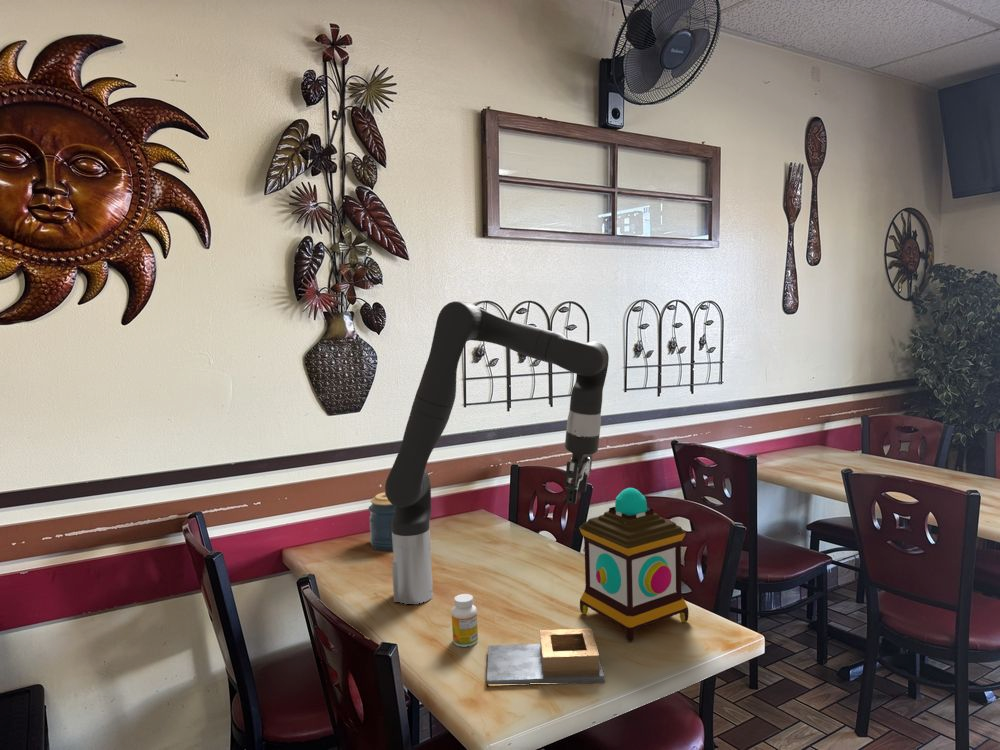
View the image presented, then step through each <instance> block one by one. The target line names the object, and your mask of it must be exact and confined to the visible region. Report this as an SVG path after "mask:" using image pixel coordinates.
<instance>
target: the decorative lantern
mask: <svg viewBox="0 0 1000 750" xmlns="http://www.w3.org/2000/svg"><path fill="white" fill-rule="evenodd" d="M647 502H648V501H647V499H646V497H645V496H644V494H642V493H641V492H640V491H639V489H636V488H634V487H627V488H625V489H623V490H621V492H619V494H618V495H617V496H616V497H615V502H614V503H615V505H614V506H612V507H608V508H609V509H608V511H604V513H603V514H601V515H599V516H596V517H591V518H588V520H587V521H585V522H583V523H582V524H581V525H579V528H578V529H579V530H580V531H579V532H580V534H581V535H582V537H583V541H584V545H583V547H584V570H585V571H584V575H585V578H584V579H585V588H584V591H583V593H582V595H581V596H580V599H579V610H580V613H581V614H582V615H587V613H588V612H589V608H590V609H591V611H592V610H593V611H594V612H596V613H597V614H599V615H601V616H603V617H604V618H606V619H607V620H609V621H611V622H613V623H614V624H616V625H618V626H620V627H621V628H622V629H623V630H624V631H625V635H626V636H625V637H626V640H627V642H628V643H632V642H634V639H635V638H634V637H635V632H636V631H637V630H638V629H640V628H644V627H646V626H649V625H652V624H654V623H657V622H660V621H663V620H665V619H667V618H671V617H673V616H677V615H679V618H680V620H681V622H683V623H687V622H688V620H689V607H688V604H687V602H686V601H685V599H684V597H683V593H682V542H683V539H684V537H686V530H685V529H683V528H682V527H681V526H680V525H678V524H676V522H674V521H672V520H669V519H666V518H663V517H661V516H660V515H659V514H658V513H656V512H654V509H653V508H650V507H648V505H647V504H648V503H647Z"/></svg>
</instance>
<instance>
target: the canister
mask: <svg viewBox="0 0 1000 750" xmlns="http://www.w3.org/2000/svg"><path fill="white" fill-rule="evenodd" d="M370 503H371V504H370V505H369V506H368V511H369V512H370V516H369V519H368V521H369V532H370V533H369V534H370V538H369V539H370V541H369V542H370V544H371V545H370V546H371V547H372V549H373V550H378V551H383V550H384V551H385V552H386V551H389V552H390V551H393V542H392V526H391V523H392V519H393V516H394V513H395V508H396V507H395V506H394V505H392V504H391V503H390V502H389V500H388V499H387V496H386V493H385V491H383V492H380V493H377V494H376V495H375V496H374V497H372V498H371V499H370ZM384 551H383V552H384Z"/></svg>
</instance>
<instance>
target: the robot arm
mask: <svg viewBox="0 0 1000 750" xmlns="http://www.w3.org/2000/svg"><path fill="white" fill-rule="evenodd" d="M468 341H474V342H475V341H476V342H483V343H489V344H494V345H498V346H502V347H503V348H506V349H509V350H511V351H514V352H516V353H518V354H521V355H523V356H526V357H527V358H528V357H529V358H531V359H535V360H536V361H537V360H538V361H541V362H544V363H548V364H552V365H556V366H558V367H559V368H561V369H564V370H566V371H568V372H571V373H573V374H575V375H576V378H575V383H574V385H573V387H572V389H571V392H570V400H569V401H570V402H569V403H570V404H569V411H568V415H567V421H566V430H565V441H564V442H565V443H564V449H566V450H567V452H570V453H571V454H572V456H571V457H570V459H569V461H567V462H566V469H565V478H564V485H563V486H564V487H563V488H565V489H566V498H565V499H566V501H565V503H566V504H567V505H572V506H574V505H576V504H577V501H578V500H577V499H578V493H586V491H587V485H588V478H589V476H590V473H591V472H592V464H593V455H594V454H597V452H598V451H599V443H600V442H599V441H600V435H601V434H600V433H601V425H602V424H601V423H602V417H601V415H602V407H603V406H602V404H603V393H604V386H605V383H606V382H605V381H606V377H607V373H608V367H609V361H610V357H609V351H608V350H607V347H606V346H605V345H604V344H602V343H601V342H599V341H596V340H595V341H594V340H593V341H587V342H586V343H585V342H584V343H583V342H579V341H576V340H572V339H569V338H567V337H566V336H565V335H564V334H562V333H559V332H557V331H556V332H555V331H552V330H548V329H545V328H541V327H538V326H533V325H530V324H525V323H520V322H516V321H512V320H510V319H509V320H508V319H506V318H503V317H500V316H498V315H495V314H492V313H491V312H488V311H486V310H484V309H482V308H480V307H479V306H476V305H475V304H473V303H472V302H465V301H458V300H457V301H450V302H448V303H447V304H446V305H444V306H443V307H442V308H441V310H440V311H439V313H438V315H437V319H436V322H435V328H434V332H433V338H432V343H431V347H430V351H429V355H428V358H427V360H426V364H425V366H424V370H423V372H422V375H421V378H420V381H419V384H418V388H417V390H416V393H415V395H414V396H415V397H414V399H413V403H412V406H411V409H410V413H409V416H408V420H407V424H406V427H405V429H404V433H403V437H402V441H401V445H400V447H399V450H398V453H397V455H396V458H395V460H394V462H393V465H392V466H391V469H390V472H389V473H388V476H387V478H386V480H385V485H384V492H385V493H386V496H387V499H388V500H389V502H390V503H391V504H392V505H394V506H395V507H396V508H395V513H394V516H393V519H392V523H391V526H392V542H393V550H392V554H393V555H392V556H393V559H392V560H393V562H392V564H391V570H392V571H391V573H392V587H393V588H392V590H393V603H394V602H401V603H400V604H402V603H404V604H403V605H407V604H414V605H420V604H423V602H424V603H426V602H428V601H430V600H432V598H433V597H434V593H433V591H434V590H433V589H434V586H433V572H432V570H433V568H432V553H431V551H432V548H431V533H430V531H431V530H430V521H431V516H432V491H431V490H432V489H431V488H432V487H431V478H430V475H429V473H428V471H427V469H426V468H427V465H428V461H429V458H430V456H431V453H432V452H433V450H434V448H435V447H436V445H437V444H438V442H439V440H440V438H441V436H442V435H443V433H444V430H445V428H446V427H447V424H448V422H449V419H450V416H451V413H452V410H453V407H454V404H455V401H456V395H457V373H458V371H457V370H458V365H459V362H460V359H461V357H462V353H463V351H464V348H465V346H466V344H467V342H468ZM566 450H565V451H566ZM572 480H573V482H572ZM419 603H420V604H419Z"/></svg>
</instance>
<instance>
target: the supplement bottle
mask: <svg viewBox="0 0 1000 750" xmlns="http://www.w3.org/2000/svg"><path fill="white" fill-rule="evenodd" d="M453 600H454V601H453V602H454V605H453V607H452V609H451V624H452V629H451V630H452V642H453V644H454V645H456V647H460V646H461V648H468V647H467V646H469V647H472V646H474V645H476V644H477V643H478V641H479V632H478V631H479V630H478V629H479V628H478V626H479V625H478V611H477V610H478V609H477V607H476V606H475V605H474V596H473V595H471V594H469V593H461V594H458V595H456V596H454V599H453Z"/></svg>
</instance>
